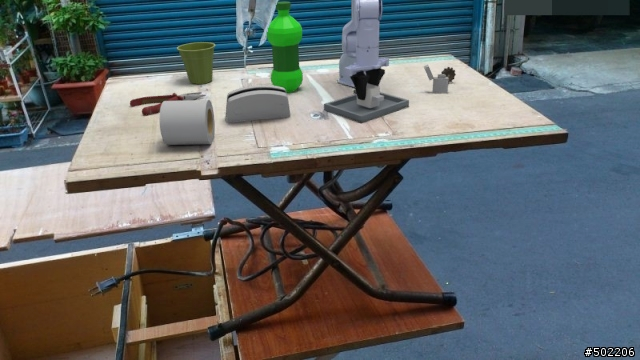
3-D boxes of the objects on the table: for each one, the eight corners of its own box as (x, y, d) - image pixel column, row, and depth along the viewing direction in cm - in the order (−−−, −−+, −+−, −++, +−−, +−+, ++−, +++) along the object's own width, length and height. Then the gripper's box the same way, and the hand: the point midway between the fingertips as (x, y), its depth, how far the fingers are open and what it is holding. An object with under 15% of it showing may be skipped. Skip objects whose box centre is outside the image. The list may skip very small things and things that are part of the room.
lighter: (446, 91, 155) (449, 64, 152) (447, 93, 154) (449, 65, 150) (421, 91, 156) (423, 64, 152) (422, 93, 154) (424, 65, 151)
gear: (453, 82, 164) (455, 65, 161) (455, 82, 163) (456, 66, 161) (439, 83, 162) (440, 67, 160) (440, 84, 161) (442, 68, 159)
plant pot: (205, 74, 178) (201, 40, 173) (226, 80, 171) (223, 45, 166) (174, 82, 171) (169, 46, 166) (195, 89, 163) (190, 52, 158)
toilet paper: (164, 151, 120) (156, 109, 116) (174, 135, 129) (168, 95, 125) (208, 150, 120) (203, 108, 116) (216, 134, 129) (211, 94, 125)
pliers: (213, 102, 153) (212, 93, 152) (144, 118, 142) (142, 108, 141) (195, 93, 161) (194, 85, 160) (129, 108, 150) (127, 99, 149)
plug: (350, 101, 145) (350, 83, 142) (359, 99, 147) (359, 81, 145) (375, 110, 138) (376, 91, 136) (385, 106, 140) (385, 88, 138)
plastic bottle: (304, 84, 165) (301, -1, 154) (304, 94, 156) (300, 4, 145) (271, 85, 165) (266, 0, 154) (269, 95, 156) (263, 5, 145)
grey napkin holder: (288, 110, 144) (288, 79, 136) (291, 121, 140) (291, 90, 133) (225, 116, 140) (222, 84, 133) (226, 127, 137) (223, 96, 130)
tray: (324, 110, 143) (323, 103, 142) (370, 95, 153) (371, 89, 153) (361, 123, 133) (361, 116, 132) (408, 106, 144) (409, 100, 143)
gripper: (358, 53, 129) (358, 107, 135) (398, 43, 137) (396, 94, 143) (338, 48, 134) (338, 101, 140) (378, 39, 142) (377, 89, 148)
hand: (366, 97), depth 142 cm, fingers closed on plug, 3 cm apart
